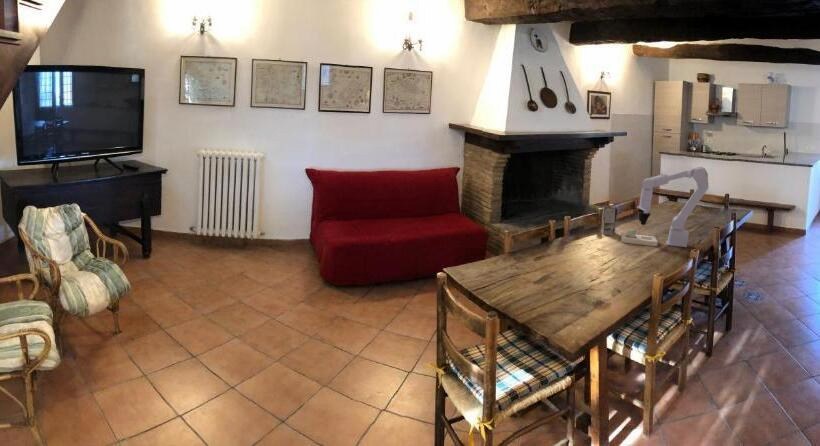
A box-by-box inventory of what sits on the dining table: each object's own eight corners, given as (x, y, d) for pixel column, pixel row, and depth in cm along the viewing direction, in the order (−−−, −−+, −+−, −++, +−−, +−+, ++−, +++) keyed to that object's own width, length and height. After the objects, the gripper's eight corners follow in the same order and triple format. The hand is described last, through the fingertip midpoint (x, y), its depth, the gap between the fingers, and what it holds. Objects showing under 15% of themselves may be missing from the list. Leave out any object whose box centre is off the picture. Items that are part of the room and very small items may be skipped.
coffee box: (614, 235, 294) (618, 208, 290) (602, 234, 295) (606, 208, 291) (611, 231, 302) (615, 205, 298) (600, 230, 304) (603, 204, 299)
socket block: (654, 240, 286) (655, 236, 286) (656, 246, 276) (657, 242, 276) (620, 237, 292) (620, 232, 291) (621, 242, 281) (622, 238, 281)
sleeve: (634, 240, 286) (636, 230, 285) (634, 242, 282) (636, 232, 281) (626, 239, 288) (627, 229, 286) (626, 241, 284) (628, 231, 282)
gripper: (636, 196, 292) (633, 219, 295) (639, 201, 278) (636, 225, 282) (649, 197, 290) (646, 220, 293) (653, 202, 276) (649, 226, 280)
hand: (642, 223), depth 287 cm, fingers open, 7 cm apart
